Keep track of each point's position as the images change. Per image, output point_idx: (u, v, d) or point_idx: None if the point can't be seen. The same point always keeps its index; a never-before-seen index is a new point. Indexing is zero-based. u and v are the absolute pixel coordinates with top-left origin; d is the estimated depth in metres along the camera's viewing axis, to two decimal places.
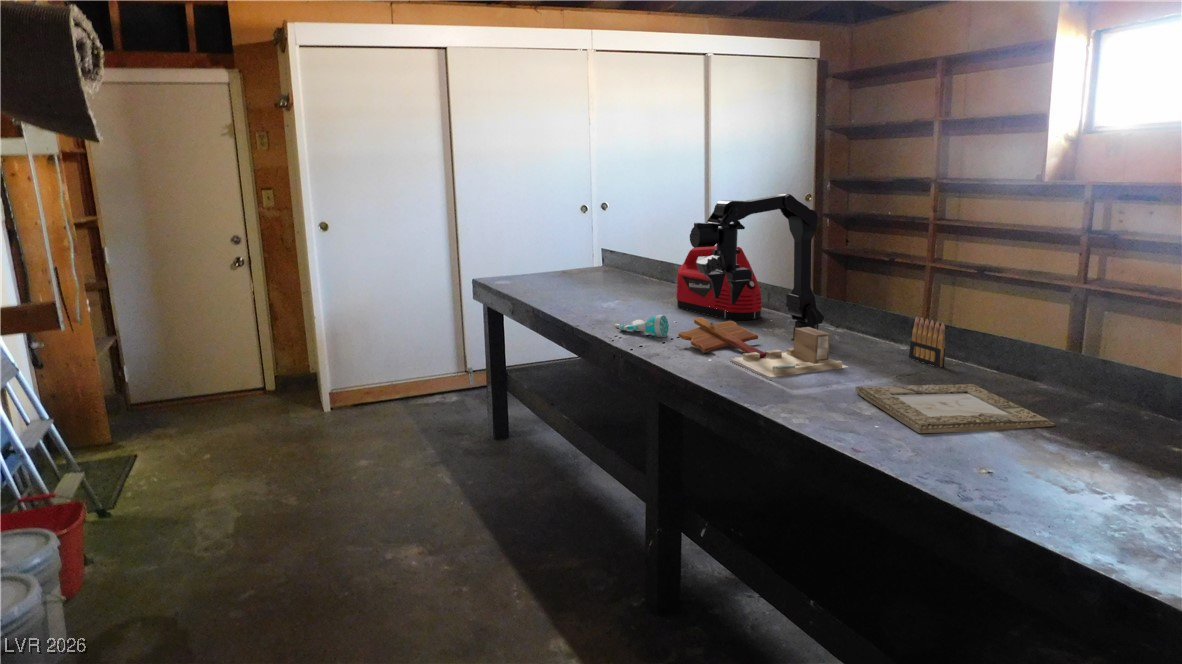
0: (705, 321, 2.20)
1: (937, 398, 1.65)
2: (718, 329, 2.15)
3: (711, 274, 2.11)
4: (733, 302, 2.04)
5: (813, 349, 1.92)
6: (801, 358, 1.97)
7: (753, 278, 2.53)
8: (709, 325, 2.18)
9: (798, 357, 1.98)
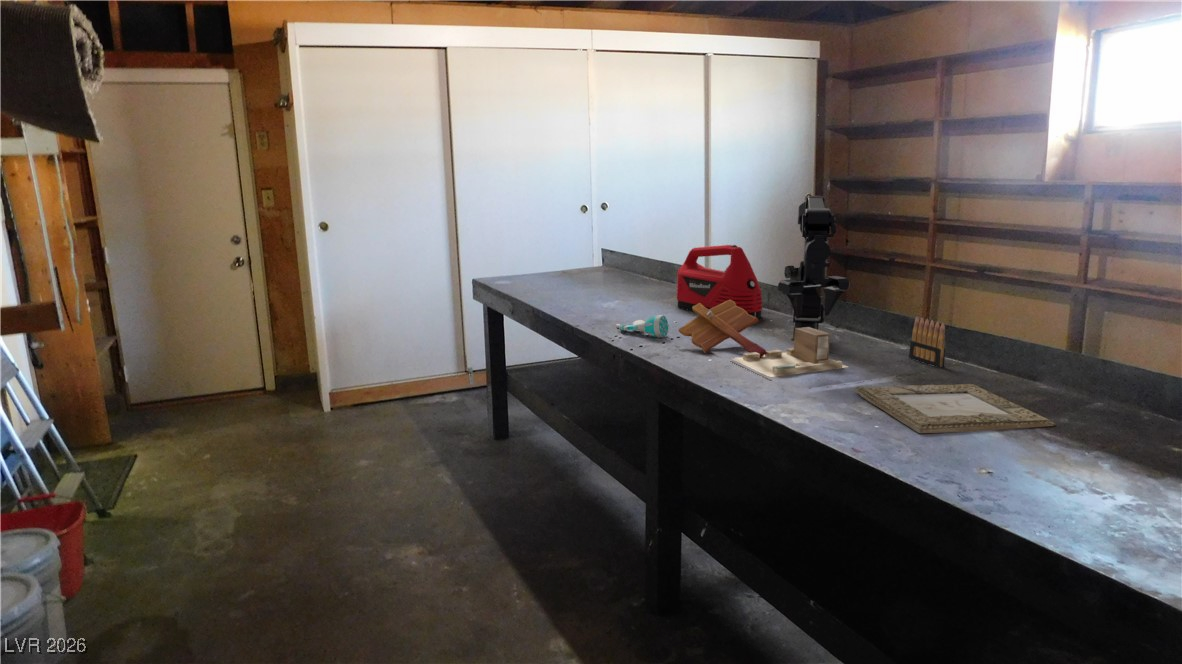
0: (703, 309, 2.18)
1: (937, 398, 1.65)
2: (717, 319, 2.14)
3: (826, 288, 1.96)
4: (796, 316, 1.93)
5: (813, 349, 1.92)
6: (801, 358, 1.97)
7: (753, 278, 2.53)
8: (708, 315, 2.16)
9: (798, 357, 1.98)
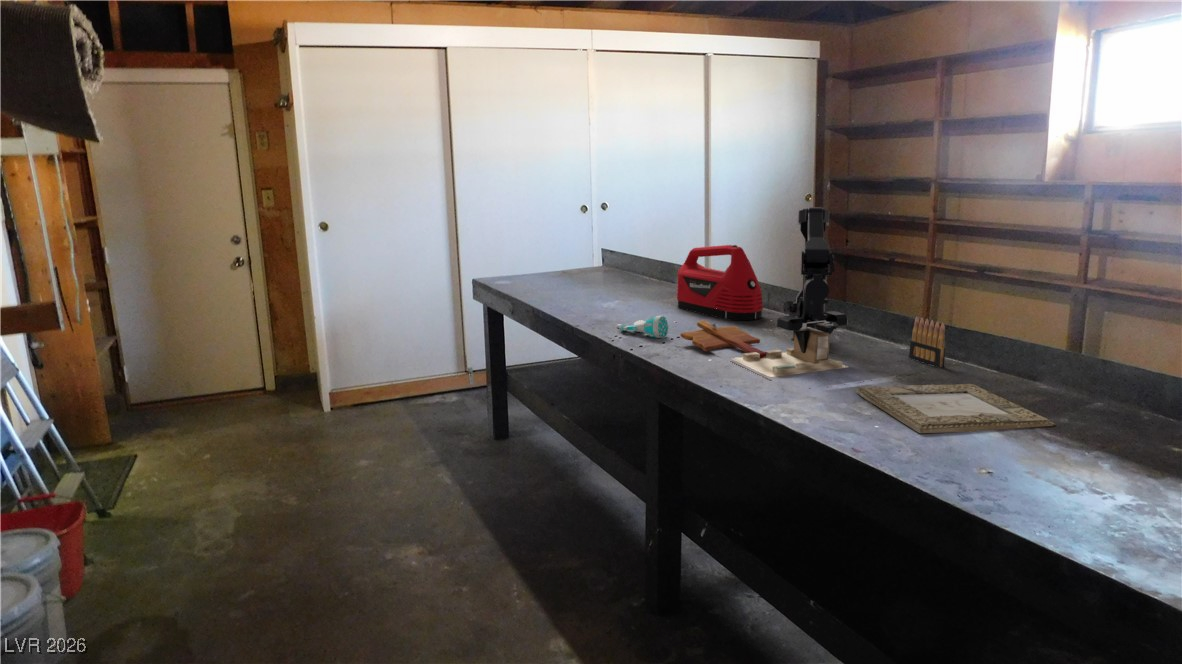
0: (708, 324, 2.22)
1: (937, 398, 1.65)
2: (720, 331, 2.16)
3: (818, 324, 1.97)
4: (801, 351, 1.96)
5: (813, 349, 1.92)
6: (801, 358, 1.97)
7: (754, 278, 2.52)
8: (711, 327, 2.19)
9: (798, 357, 1.98)
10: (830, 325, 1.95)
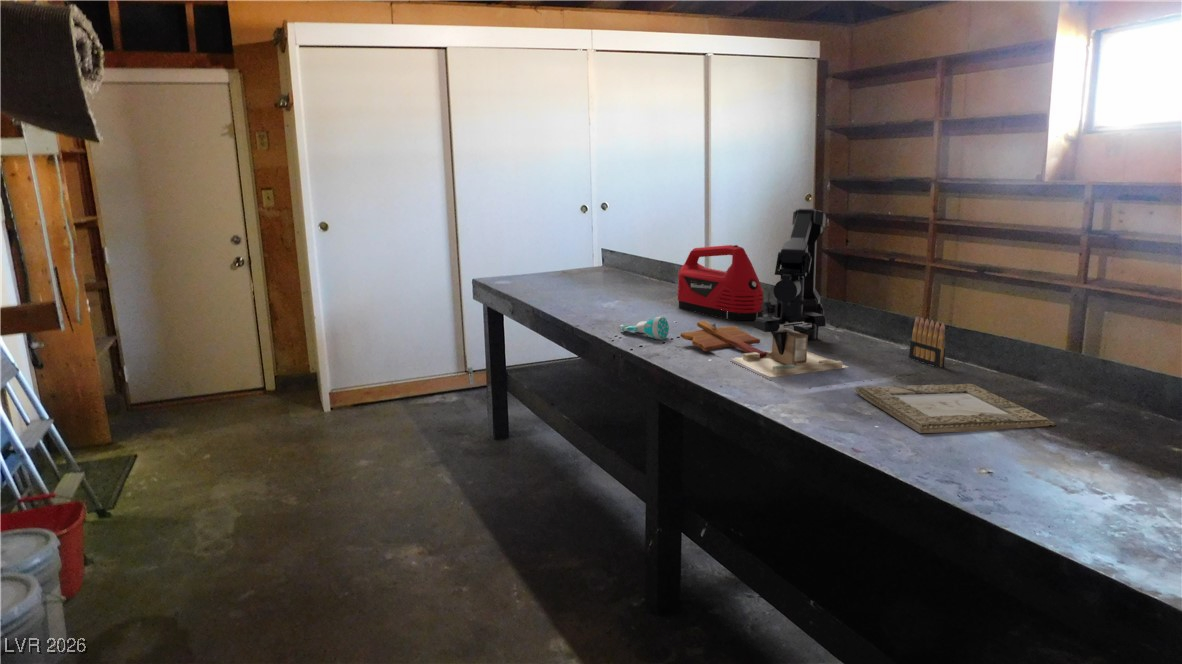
0: (708, 324, 2.22)
1: (937, 398, 1.66)
2: (720, 331, 2.16)
3: (796, 325, 1.95)
4: (779, 353, 1.93)
5: (791, 351, 1.89)
6: (779, 360, 1.94)
7: (755, 278, 2.52)
8: (711, 327, 2.19)
9: (776, 359, 1.96)
10: (808, 326, 1.93)
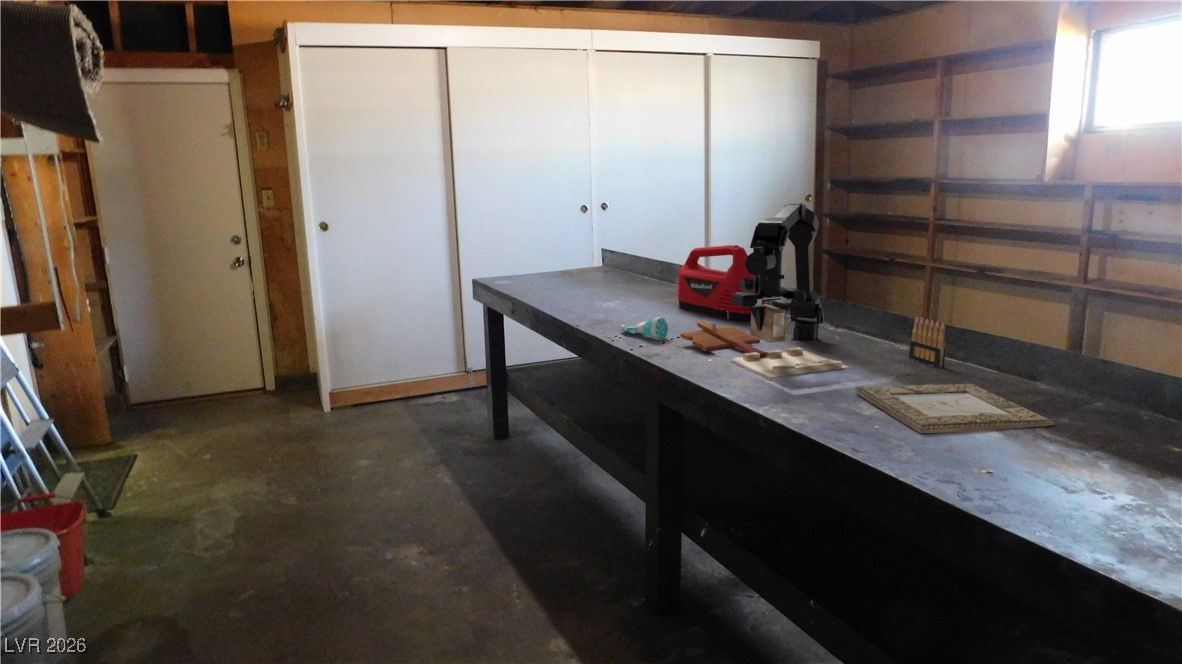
0: (708, 324, 2.22)
1: (937, 398, 1.66)
2: (720, 331, 2.16)
3: (775, 301, 1.91)
4: (758, 329, 1.89)
5: (769, 326, 1.85)
6: (758, 336, 1.90)
7: None
8: (711, 327, 2.19)
9: (755, 335, 1.92)
10: (787, 302, 1.89)
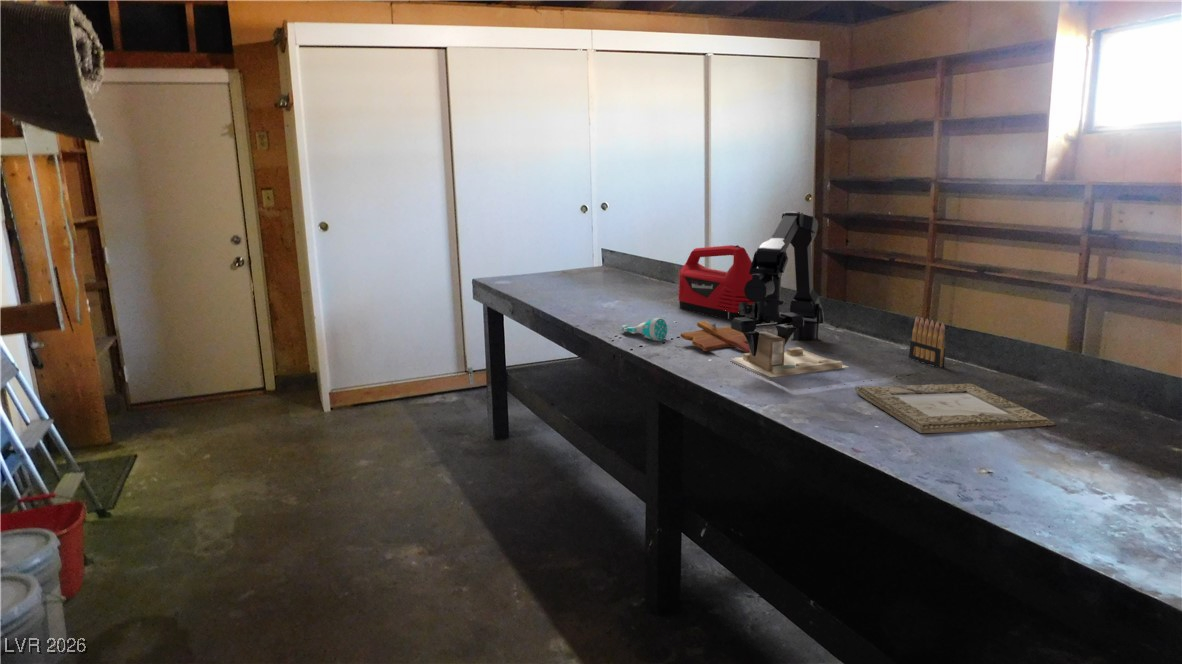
0: (708, 324, 2.22)
1: (937, 398, 1.66)
2: (720, 331, 2.16)
3: (778, 325, 1.93)
4: (752, 354, 1.90)
5: (768, 354, 1.87)
6: (756, 363, 1.92)
7: None
8: (712, 327, 2.19)
9: (754, 362, 1.93)
10: (790, 326, 1.91)
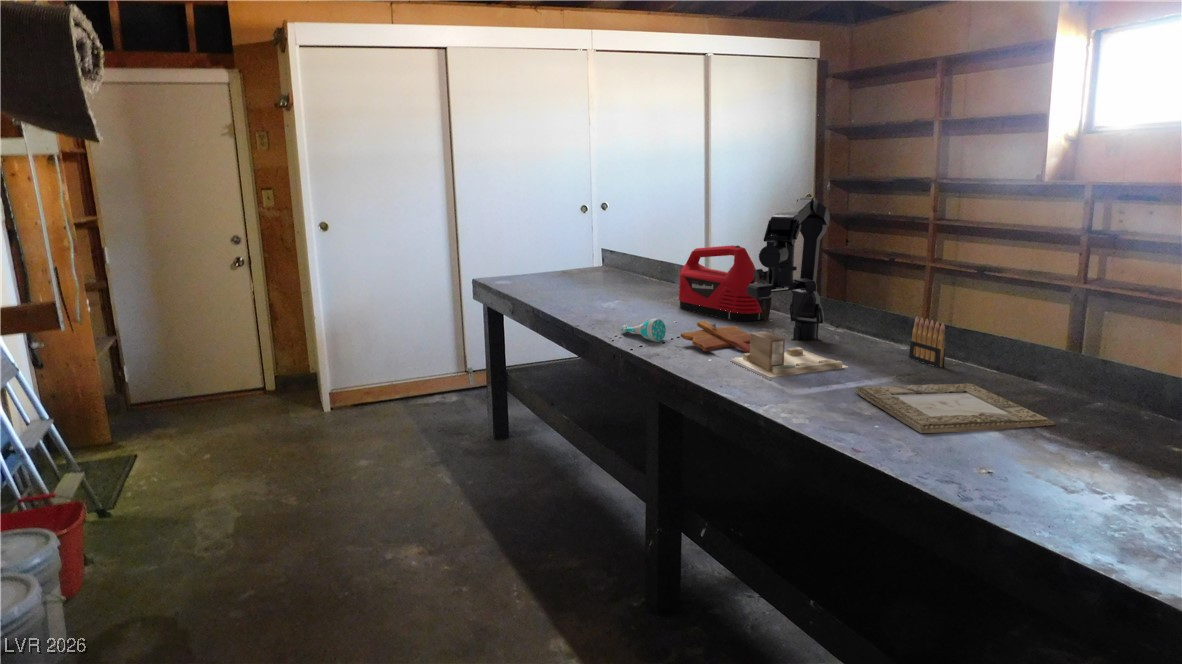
0: (708, 324, 2.22)
1: (937, 398, 1.66)
2: (720, 331, 2.16)
3: (794, 290, 2.01)
4: (765, 319, 1.98)
5: (768, 354, 1.87)
6: (756, 363, 1.92)
7: None
8: (712, 327, 2.19)
9: (754, 362, 1.93)
10: (806, 291, 1.99)
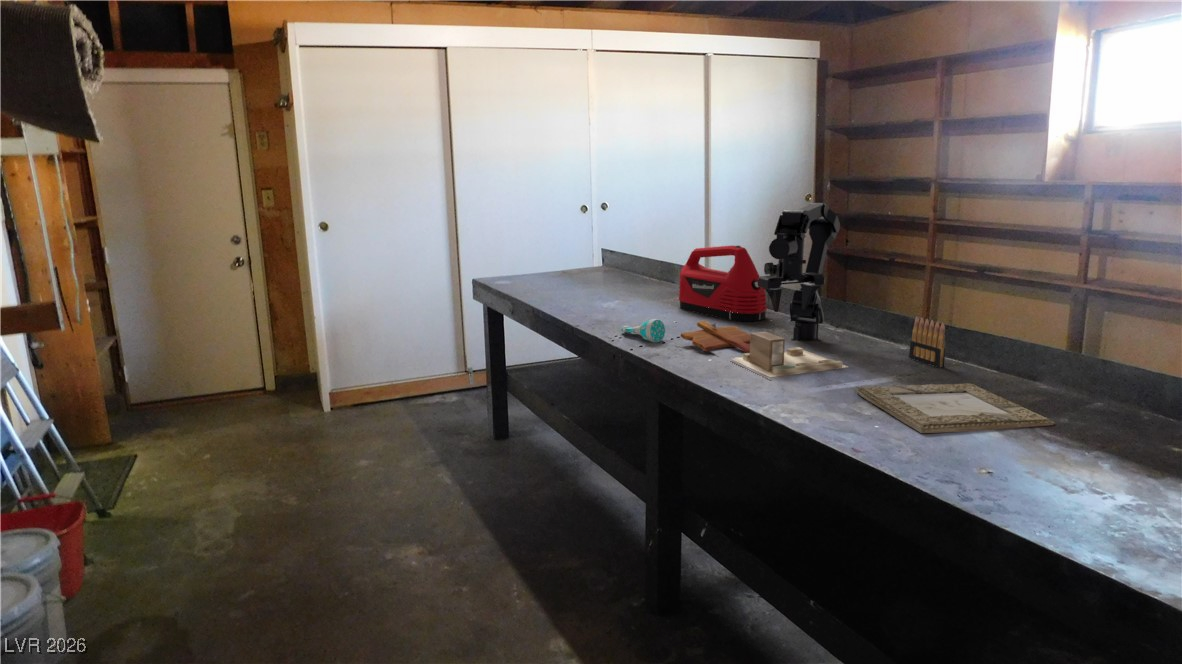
0: (708, 324, 2.22)
1: (937, 398, 1.66)
2: (720, 331, 2.16)
3: (803, 284, 2.09)
4: (774, 310, 2.05)
5: (768, 354, 1.87)
6: (756, 363, 1.92)
7: None
8: (711, 327, 2.19)
9: (754, 362, 1.93)
10: (814, 284, 2.06)
